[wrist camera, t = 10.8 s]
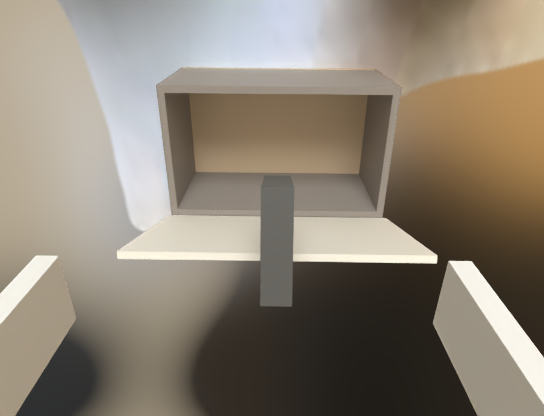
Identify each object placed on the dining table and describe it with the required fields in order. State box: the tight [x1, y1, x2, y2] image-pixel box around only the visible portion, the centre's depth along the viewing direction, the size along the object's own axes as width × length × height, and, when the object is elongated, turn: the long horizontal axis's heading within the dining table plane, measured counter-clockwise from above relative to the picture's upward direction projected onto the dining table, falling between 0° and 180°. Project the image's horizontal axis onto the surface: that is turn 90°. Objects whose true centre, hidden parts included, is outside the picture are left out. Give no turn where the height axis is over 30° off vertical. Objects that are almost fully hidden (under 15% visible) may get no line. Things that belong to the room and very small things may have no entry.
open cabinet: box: [156, 68, 401, 217], centre depth 40 cm, size 20×12×10 cm, turn 90°
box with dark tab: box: [117, 175, 437, 307], centre depth 29 cm, size 21×18×6 cm
